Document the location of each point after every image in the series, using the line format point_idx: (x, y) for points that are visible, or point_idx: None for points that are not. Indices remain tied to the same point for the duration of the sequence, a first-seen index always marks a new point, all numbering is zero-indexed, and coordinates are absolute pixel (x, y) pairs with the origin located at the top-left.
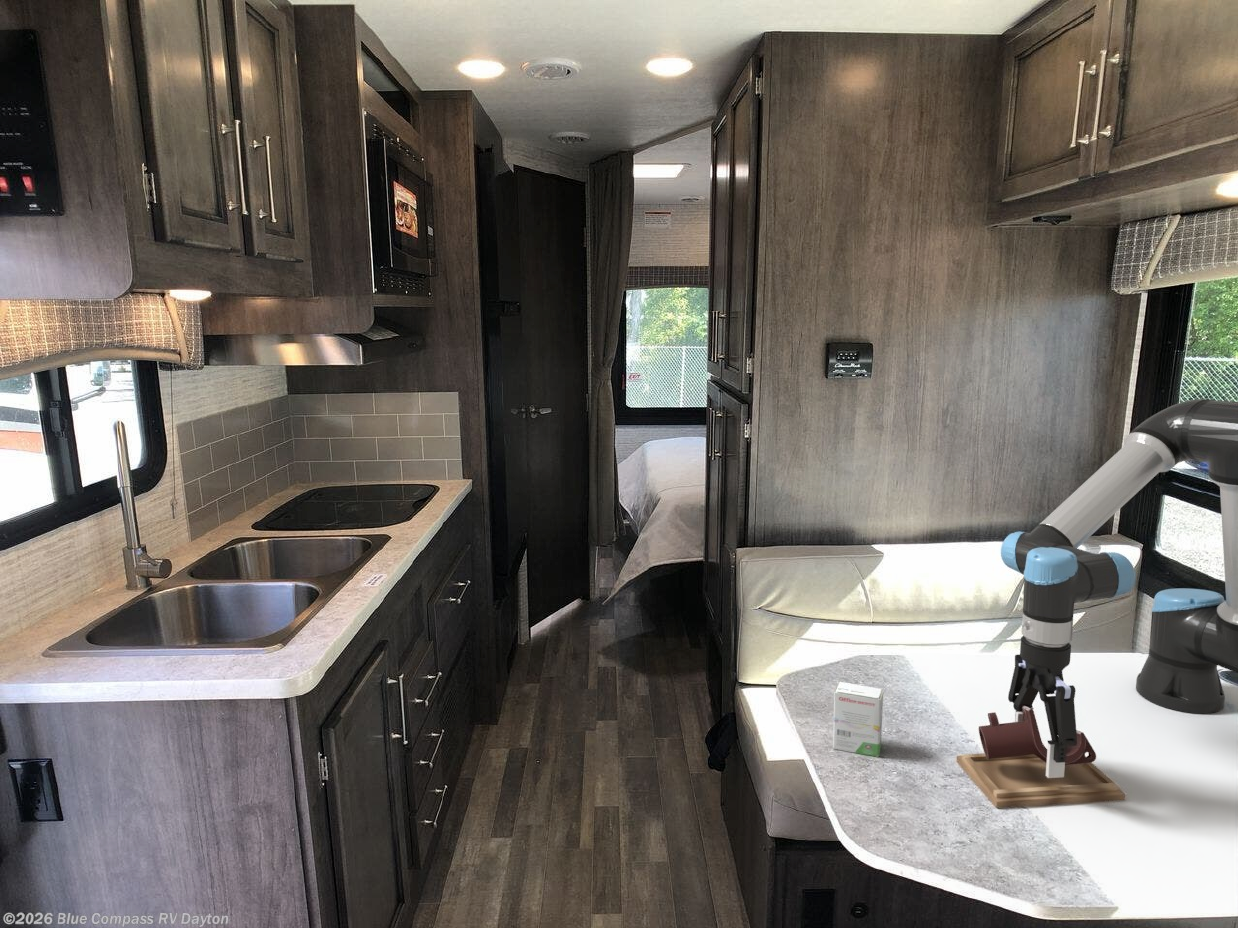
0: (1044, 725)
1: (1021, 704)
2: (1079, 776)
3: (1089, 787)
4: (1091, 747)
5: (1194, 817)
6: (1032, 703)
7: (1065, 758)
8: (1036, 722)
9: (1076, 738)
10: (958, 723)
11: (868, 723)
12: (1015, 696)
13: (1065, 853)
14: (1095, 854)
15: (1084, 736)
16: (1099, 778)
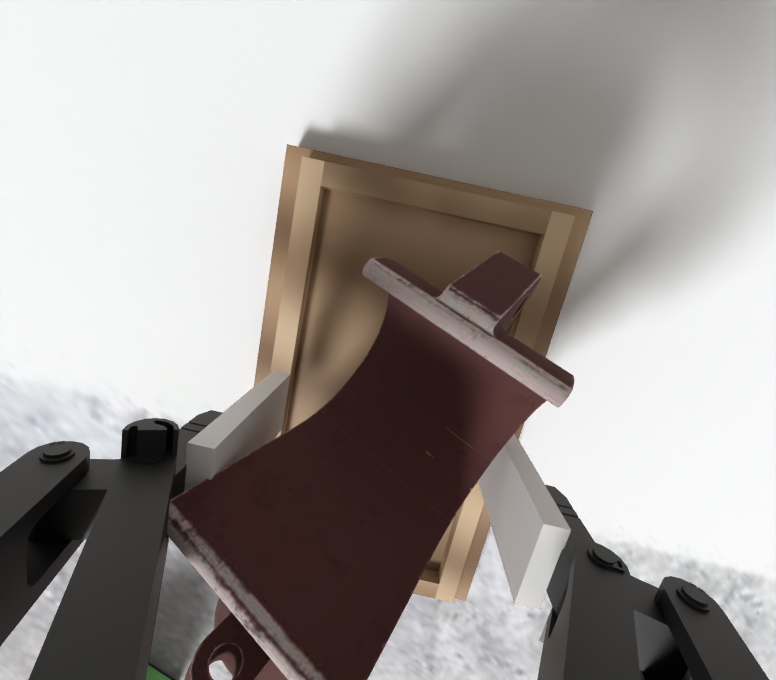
0: (80, 80)
1: (164, 562)
2: (447, 279)
3: (537, 328)
4: (528, 287)
5: (763, 55)
6: (169, 495)
7: (567, 504)
8: (394, 622)
9: (740, 642)
10: (32, 381)
11: None
12: (49, 529)
13: (677, 566)
14: (718, 506)
15: (572, 384)
16: (486, 223)
